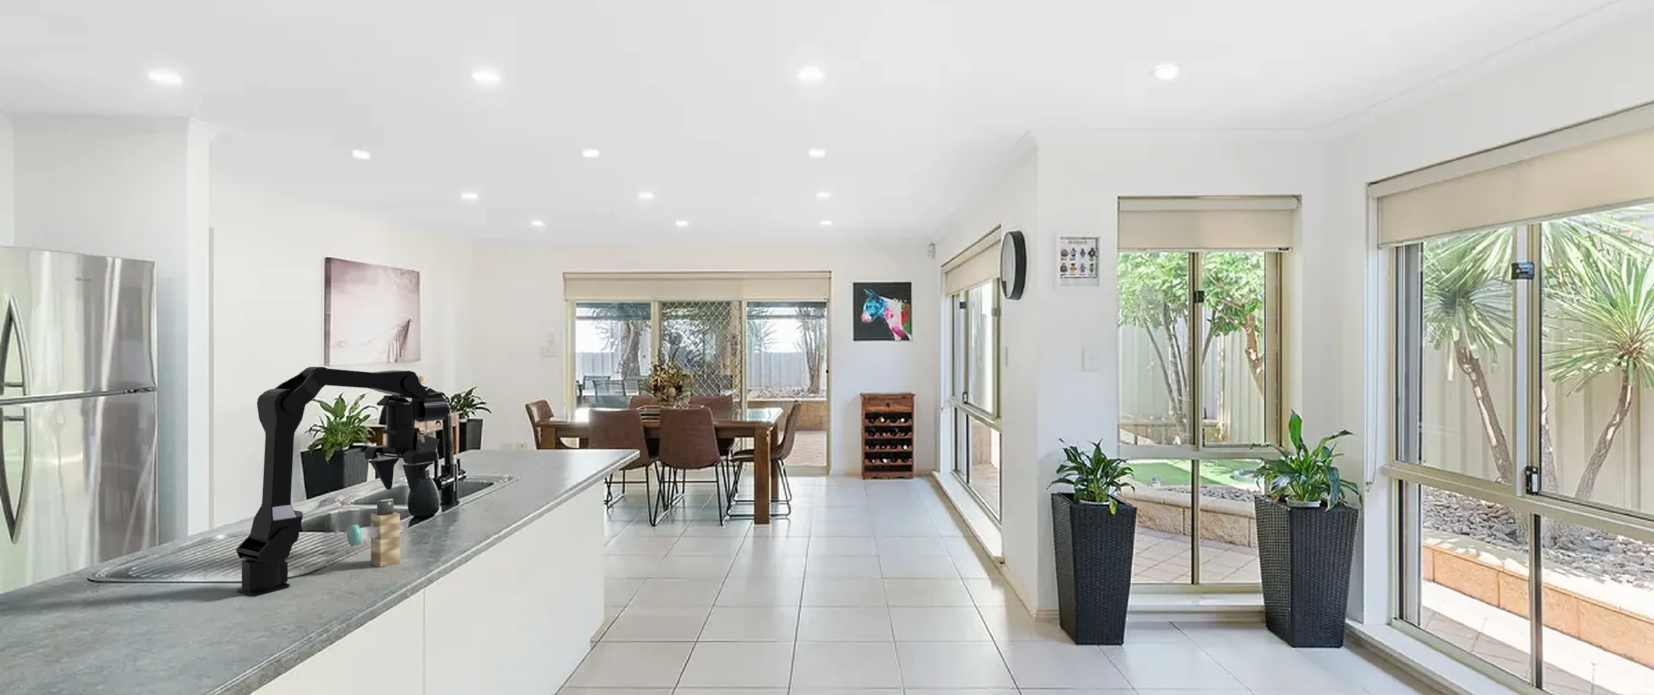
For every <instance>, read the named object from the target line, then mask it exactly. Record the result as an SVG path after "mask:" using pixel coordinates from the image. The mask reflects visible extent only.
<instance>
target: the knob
mask: <svg viewBox="0 0 1654 695" xmlns="http://www.w3.org/2000/svg"><path fill="white" fill-rule="evenodd" d="M346 537H347V542H348V545H350V546H351V547H355V546H359V545H361V542H362V541H363V540H371V538H376V537H379V526H378V525H375V526H371V525H369V526H364V527H360V525H359V524H353V525H349V526H348V527H347V531H346Z"/></svg>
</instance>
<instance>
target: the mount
mask: <svg viewBox="0 0 1654 695" xmlns="http://www.w3.org/2000/svg"><path fill="white" fill-rule="evenodd" d="M375 525H378V526H379V537H376V538H370V564H372V565H375V566H377V567H378V568H383V567H382V566H384V567H388V566H392V565H397V564H401V514H400V513H398V512H395V511H394V513H393V514H391V515H383V516H379V515H377V512H375V513H370V526H375Z"/></svg>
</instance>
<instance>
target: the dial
mask: <svg viewBox="0 0 1654 695" xmlns="http://www.w3.org/2000/svg"><path fill="white" fill-rule="evenodd" d="M394 502H395V501H394V499H393V498H386V499H378V500H377V501H376V513H377V515H379V516H383V515H391V514H393V513H394V512H395V511H394V504H395V503H394Z"/></svg>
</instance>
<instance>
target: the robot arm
mask: <svg viewBox="0 0 1654 695" xmlns="http://www.w3.org/2000/svg"><path fill="white" fill-rule="evenodd" d="M325 386H330V387H343V388H344V387H346V388H359V389H370V390H373V391H376V392H378V393H379V392H380V393H381V394H382V393H383V394H384V395H383V397H382V398H381V399H380V400H379V401H378V402H376V406H378V407H386V428H382V434H383V435H384V434H385V435H386V444H381V445H372V446H368V447H367V448H366V449H365V451H364V459H365V460H368V464H370V465H371V466H372V468H373V469H374V471H375V473H376V474H377V476H378V478H379V479H380V481H381V483H382V485H383V486H384V488H385V490H388V491H389V490H392V488H393V481H394V471H395V470H394V469H395V465H396V464H397V463H398V461H399V460H400V459H402V461H403V462H404V464H402V468H403V471H404V475H405V478H406V482H407V486H408V489H409V492H410V493H411V494H416V493H417V492H418V488H419V486H420V483H421V481H422V479H423V478H422V477H423V475H424V473H425V470H427V468H429V466H431V465H433V464H434V463H435V462H437V461H438V460H439V456H438V454H439V452H437V447H438V446H439V441H440V438H436V437H432V436H429V435H425V434H424V432H421V429H420V427H416V426H415V425H416V422H418V423H426V422H435V421H444V420H445V419H446V418H447V416H448V413H449V406H448V403H447V401H446V399H445V398H444V397H443V393H442V392H432V393H428V392H427V390H426V389H425V388H424V386H423V385H422V384H421V382H420V379H419V376H418V375H417V373H416V372H414V371H412V370H393V369H392V370H382V371H375V372H374V371H373V372H371V371H360V370H349V369H336V368H327V367H324V366H308V367H306V368H305V369H303V370H302V371H300V372H299V373H298V374H296V375H295V376H293V377H291V378H289V379H287V380H285V381H284V382H282V383H280V384H278V386H276V387H275V388H271V389H268V390H266V391H263V392H262V393H261V394H260V395H259V396H258V397H257V400H256V401H257V402H256V404H257V406H256V407H257V413H258V420H259V422H260V424H261V427H262V429H263V430H264V434H265V437H264V438H265V440H264V459H263V460H264V461H263V476H262V477H263V479H262V493H261V494H262V497H261V504H260V507H259V508H258V510H257V512H256V514H255V516H254V517H253V521H252V523H251V529H250V532H249V535H248V536H247V537H246V538H245V539H244V540H243V541H242V542H241V543H240V544H239V545H238V547H236V548H235V552H236V554H237V556H238V558H239V559H243V560H241V587H238V588H237V590H236V591H237V592H238V593H239V592H240V593H243V594H246V595H249V596H258V595H262V594H266V593H270V592H273V591H277V590H282V589H285V588H289V587H290V586H291V584H290V583H288V581H289V580H288V577H289V573H288V572H289V568H288V565H289V564H288V561H286V559H288V558H289V556H290V553H291V550H292V548H293V545H294V544H295V543H297V542H298V540H299V537H300V533H303V531H304V530H303V526H302V521H303V518H304V517H303V516H304V514H303V511H300V510H295V509H294V508H293V505H292V486H293V485H292V484H293V466H294V444H295V442H294V441H295V434H296V433H295V432H296V431H297V429H298V428H299V426H300V424H301V422H302V421H303V417H304V414H305V409H306V405H307V404H309V403H310V402H311V401H312V400H314V399H315V398H316V397H317V395H319V393H320V391H321V390H322V389H323V388H324V387H325ZM420 388H423V389H420ZM415 392H420V393H415ZM385 394H386V395H385ZM392 395H393V396H397V397H393V396H392ZM408 399H411V400H408Z"/></svg>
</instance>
